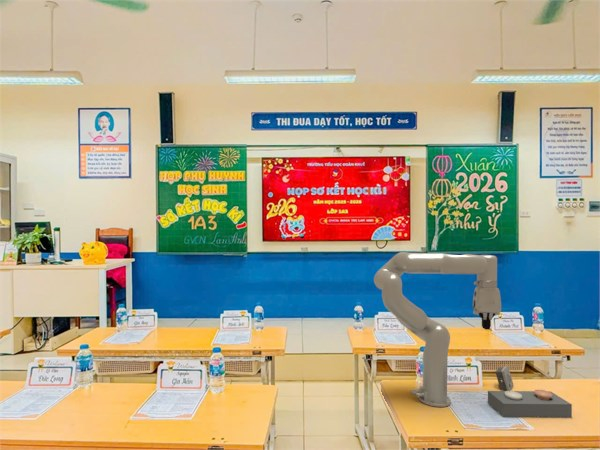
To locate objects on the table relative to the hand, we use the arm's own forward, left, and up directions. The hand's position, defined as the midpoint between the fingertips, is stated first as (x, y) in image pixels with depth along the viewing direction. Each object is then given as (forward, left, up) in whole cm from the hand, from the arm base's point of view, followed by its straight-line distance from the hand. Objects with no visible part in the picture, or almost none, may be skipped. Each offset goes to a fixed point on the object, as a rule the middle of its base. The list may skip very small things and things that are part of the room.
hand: (486, 328), depth 165 cm
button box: (+12, -10, -29) cm, 33 cm away
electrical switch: (+15, +12, -29) cm, 35 cm away
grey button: (+6, -10, -28) cm, 30 cm away
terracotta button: (+18, -10, -27) cm, 34 cm away
